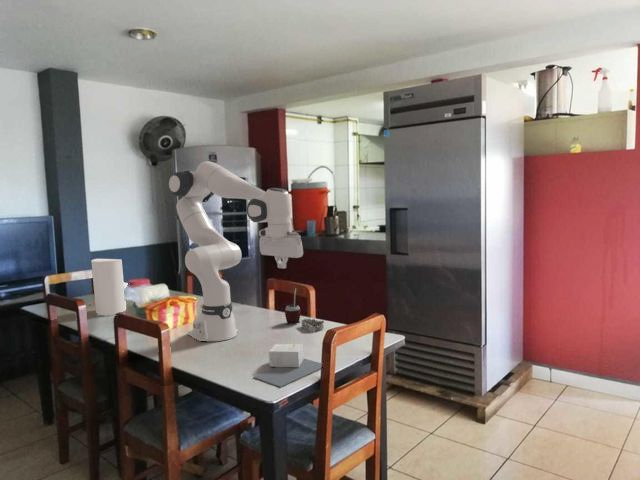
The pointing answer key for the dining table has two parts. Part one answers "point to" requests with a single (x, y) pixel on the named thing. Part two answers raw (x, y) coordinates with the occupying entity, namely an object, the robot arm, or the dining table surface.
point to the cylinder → (108, 286)
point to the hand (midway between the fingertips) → (281, 268)
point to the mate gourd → (293, 313)
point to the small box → (286, 355)
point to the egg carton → (312, 325)
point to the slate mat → (288, 373)
